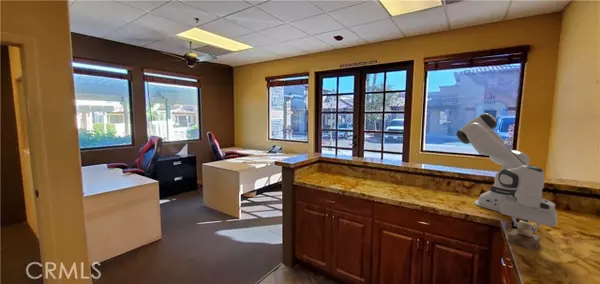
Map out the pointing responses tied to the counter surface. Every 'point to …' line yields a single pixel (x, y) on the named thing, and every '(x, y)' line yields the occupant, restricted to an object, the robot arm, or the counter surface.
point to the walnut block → (524, 240)
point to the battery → (517, 221)
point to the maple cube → (525, 228)
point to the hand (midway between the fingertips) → (525, 228)
